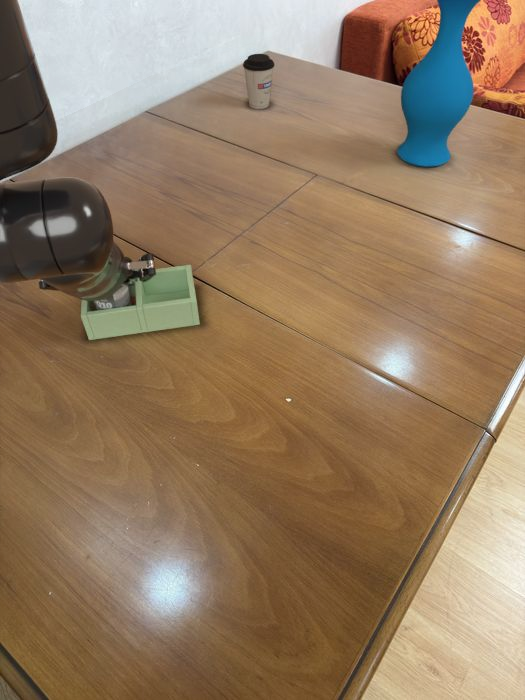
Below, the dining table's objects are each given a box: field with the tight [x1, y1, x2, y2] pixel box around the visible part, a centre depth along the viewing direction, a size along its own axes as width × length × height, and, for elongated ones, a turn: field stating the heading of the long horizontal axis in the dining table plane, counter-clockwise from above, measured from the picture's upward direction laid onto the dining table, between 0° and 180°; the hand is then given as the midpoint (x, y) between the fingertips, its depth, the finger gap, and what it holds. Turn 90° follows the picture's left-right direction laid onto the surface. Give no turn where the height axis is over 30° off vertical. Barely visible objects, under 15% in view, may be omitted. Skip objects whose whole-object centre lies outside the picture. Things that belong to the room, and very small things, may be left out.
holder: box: [80, 264, 201, 341], centre depth 74 cm, size 15×8×4 cm, turn 101°
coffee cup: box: [242, 53, 275, 110], centre depth 119 cm, size 7×7×10 cm
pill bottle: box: [95, 285, 132, 310], centre depth 71 cm, size 5×5×8 cm
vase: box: [396, 0, 481, 168], centre depth 95 cm, size 12×13×28 cm
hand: (109, 280), depth 72 cm, fingers closed on pill bottle, 4 cm apart
